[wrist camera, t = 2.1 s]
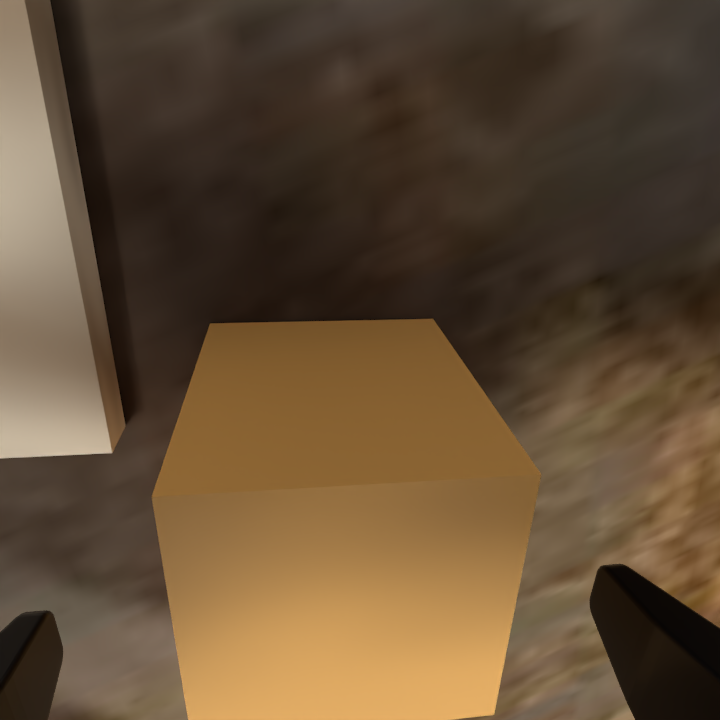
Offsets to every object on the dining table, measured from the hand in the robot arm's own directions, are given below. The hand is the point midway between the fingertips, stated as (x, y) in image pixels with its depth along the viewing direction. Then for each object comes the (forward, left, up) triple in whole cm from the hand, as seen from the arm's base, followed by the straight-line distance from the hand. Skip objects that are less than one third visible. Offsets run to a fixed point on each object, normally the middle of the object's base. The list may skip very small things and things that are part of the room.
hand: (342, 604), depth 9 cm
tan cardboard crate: (0, 0, -6) cm, 6 cm away
